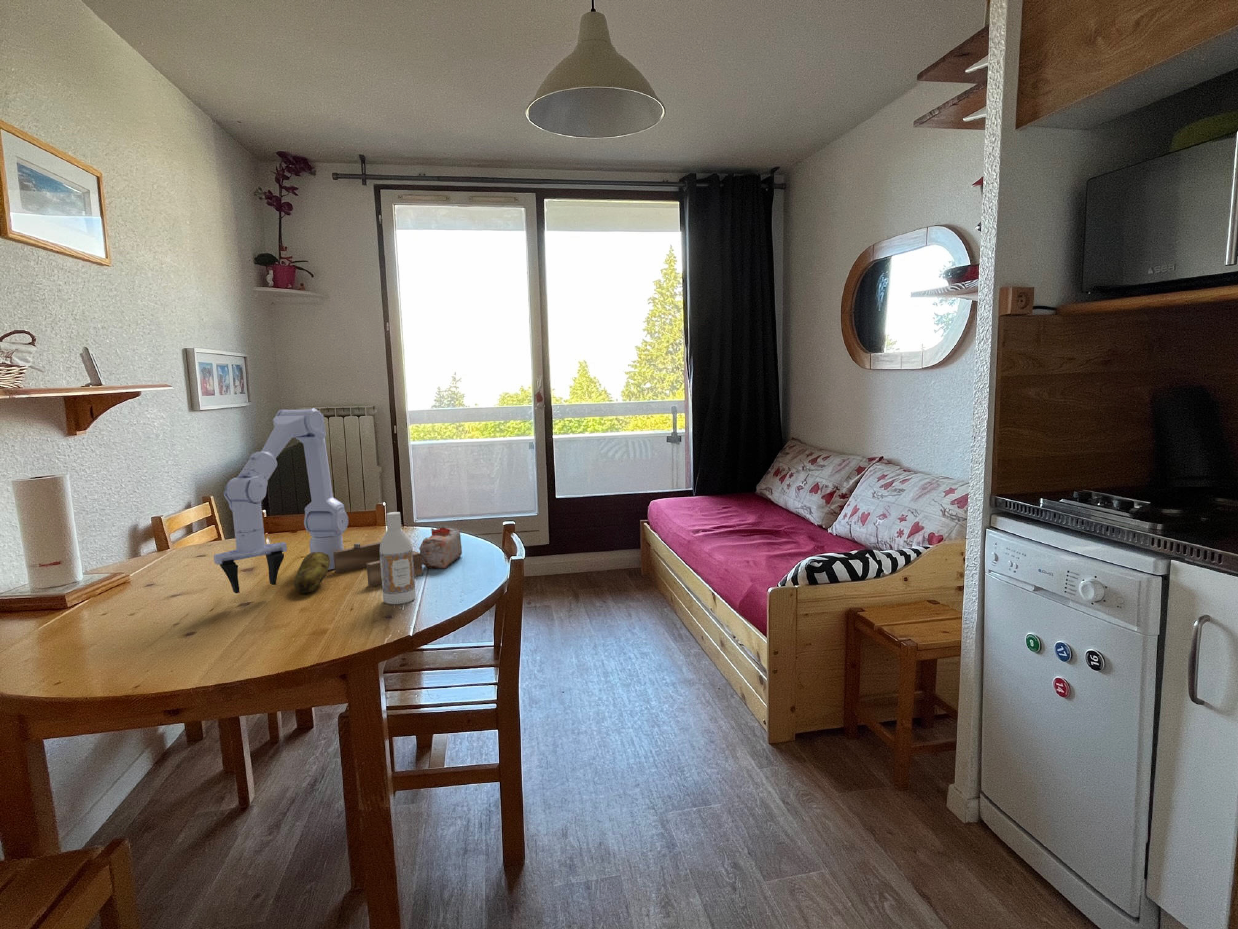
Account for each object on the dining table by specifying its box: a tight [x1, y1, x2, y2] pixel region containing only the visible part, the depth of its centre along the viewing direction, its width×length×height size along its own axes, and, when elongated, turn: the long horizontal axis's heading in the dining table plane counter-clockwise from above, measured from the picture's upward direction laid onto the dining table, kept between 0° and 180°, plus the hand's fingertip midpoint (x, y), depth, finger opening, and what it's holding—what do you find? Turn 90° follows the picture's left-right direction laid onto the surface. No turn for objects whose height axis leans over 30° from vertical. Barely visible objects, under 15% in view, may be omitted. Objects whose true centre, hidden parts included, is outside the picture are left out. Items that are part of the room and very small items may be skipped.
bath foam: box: [380, 511, 416, 605], centre depth 145 cm, size 7×7×20 cm
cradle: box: [333, 541, 423, 588], centre depth 168 cm, size 21×14×6 cm, turn 47°
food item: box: [418, 526, 463, 569], centre depth 176 cm, size 14×8×10 cm, turn 175°
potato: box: [293, 552, 330, 594], centre depth 157 cm, size 8×13×8 cm, turn 170°
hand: (255, 588), depth 148 cm, fingers open, 7 cm apart
